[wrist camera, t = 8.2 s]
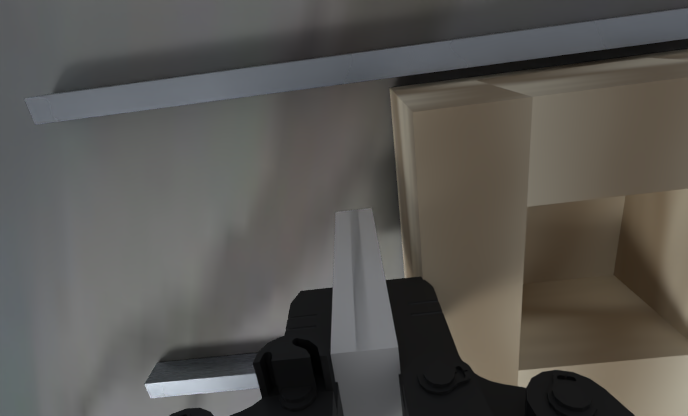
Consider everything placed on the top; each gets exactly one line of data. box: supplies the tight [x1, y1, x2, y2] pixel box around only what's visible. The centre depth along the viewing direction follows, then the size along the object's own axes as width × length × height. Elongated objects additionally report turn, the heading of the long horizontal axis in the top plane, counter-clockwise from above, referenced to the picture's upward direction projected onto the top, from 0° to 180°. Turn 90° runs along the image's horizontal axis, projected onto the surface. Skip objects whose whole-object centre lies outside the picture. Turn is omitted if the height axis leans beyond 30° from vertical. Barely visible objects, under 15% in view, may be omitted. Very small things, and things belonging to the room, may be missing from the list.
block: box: [390, 49, 688, 416], centre depth 12 cm, size 10×10×5 cm
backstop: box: [24, 7, 688, 398], centre depth 11 cm, size 23×12×8 cm, turn 97°
